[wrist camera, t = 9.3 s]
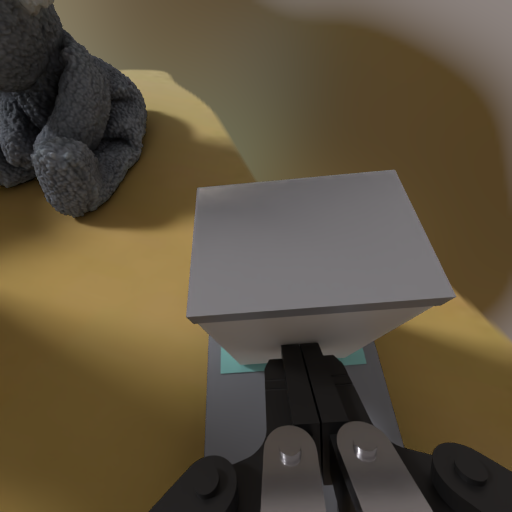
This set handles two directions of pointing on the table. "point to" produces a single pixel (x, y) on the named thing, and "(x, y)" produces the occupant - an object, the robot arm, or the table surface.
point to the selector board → (254, 405)
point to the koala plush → (63, 111)
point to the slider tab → (309, 264)
